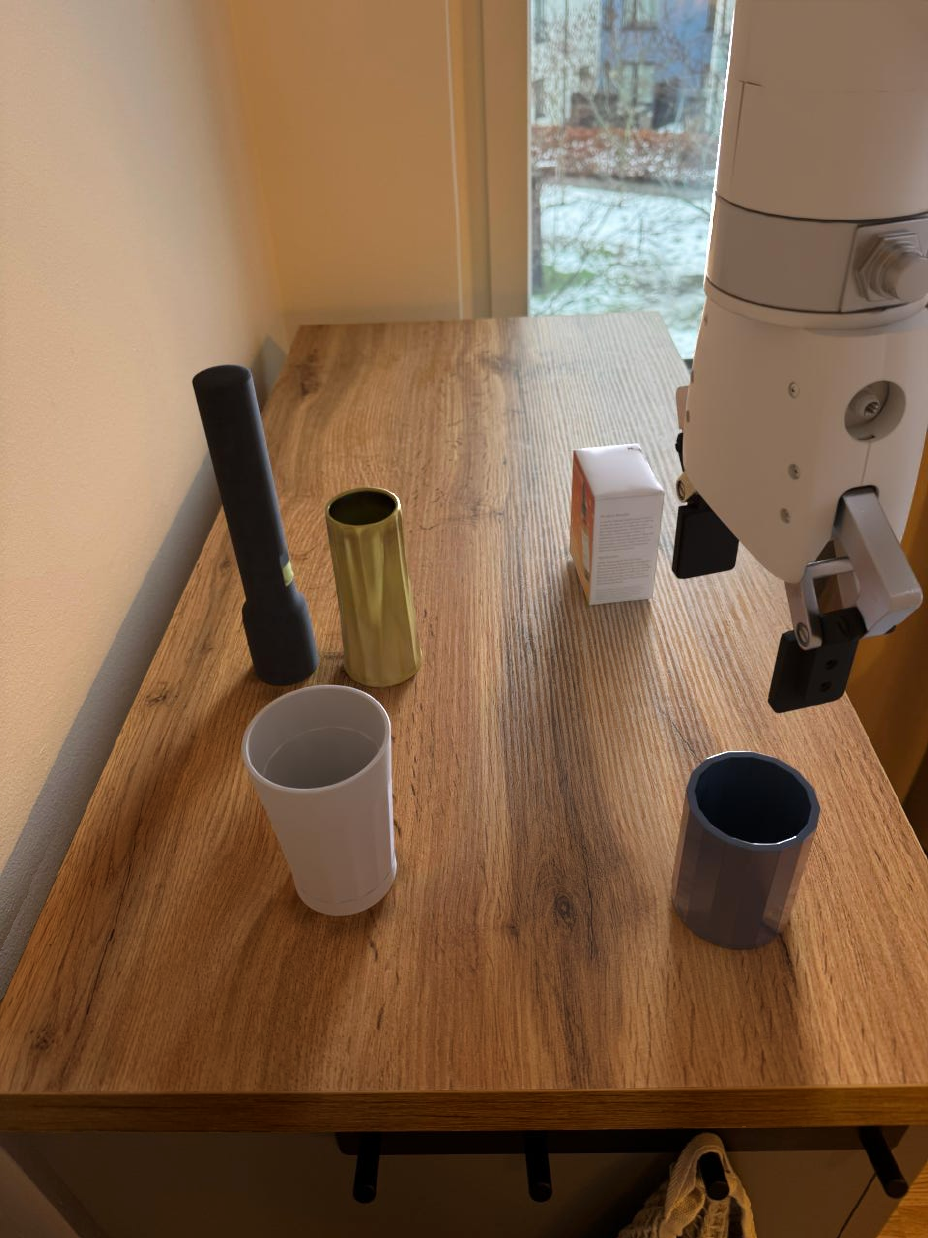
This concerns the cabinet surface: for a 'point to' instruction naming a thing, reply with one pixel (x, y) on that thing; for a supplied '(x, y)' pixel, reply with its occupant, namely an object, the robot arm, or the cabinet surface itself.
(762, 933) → the tumbler
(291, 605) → the flashlight
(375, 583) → the vase
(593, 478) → the small box
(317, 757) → the cup
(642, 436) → the cabinet surface
